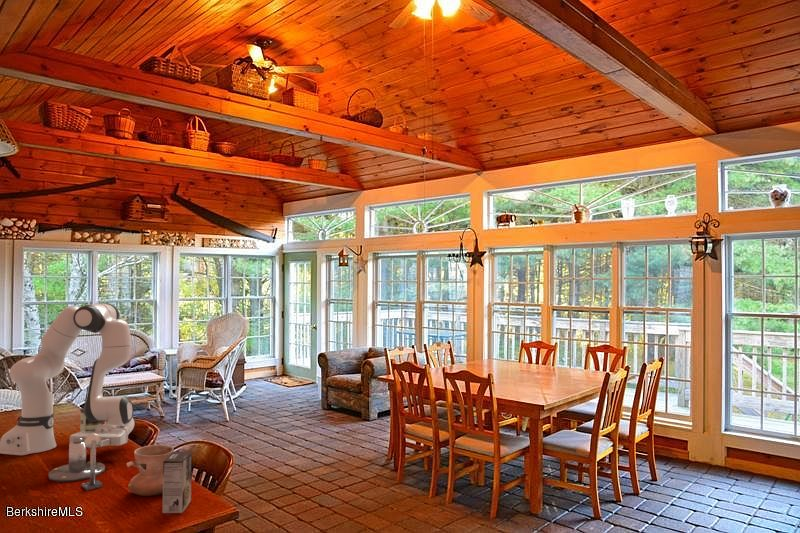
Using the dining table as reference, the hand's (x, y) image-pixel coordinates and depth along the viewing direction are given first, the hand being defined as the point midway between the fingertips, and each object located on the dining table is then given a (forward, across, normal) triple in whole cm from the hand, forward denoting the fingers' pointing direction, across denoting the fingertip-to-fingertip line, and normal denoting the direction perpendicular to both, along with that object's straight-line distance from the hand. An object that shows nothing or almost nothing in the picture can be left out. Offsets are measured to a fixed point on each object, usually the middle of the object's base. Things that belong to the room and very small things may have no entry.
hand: (86, 444), depth 212 cm
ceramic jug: (+22, +36, +9) cm, 43 cm away
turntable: (+6, 0, +9) cm, 11 cm away
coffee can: (-36, -18, +9) cm, 41 cm away
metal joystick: (+19, +13, +9) cm, 25 cm away
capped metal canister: (+6, 0, +8) cm, 10 cm away
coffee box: (+35, +50, +9) cm, 61 cm away
